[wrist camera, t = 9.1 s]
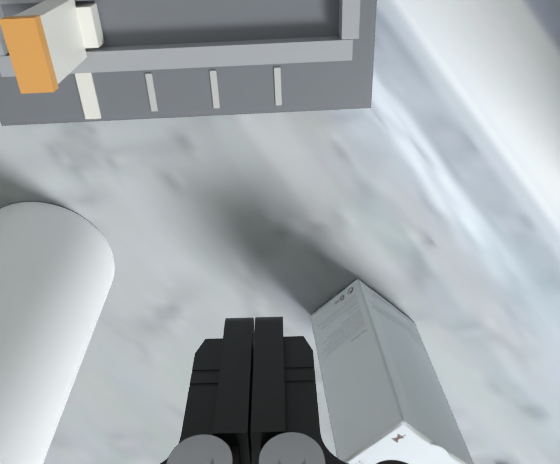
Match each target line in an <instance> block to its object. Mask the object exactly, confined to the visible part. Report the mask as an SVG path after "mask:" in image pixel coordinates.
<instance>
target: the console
mask: <svg viewBox="0 0 560 464" xmlns="http://www.w3.org/2000/svg"><path fill="white" fill-rule="evenodd" d="M43 1H45V0H0V19H1V18H3V17H6V16H15V15H17V14H19V13H21V12H23V11H25V10H27V9H29V8H31V7H33V6H35V5H37V4H39V3H41V2H43ZM74 1H75V4H86V3H96V4H97V9H98V13H99V18H100V23H101V28H102V33H103V38H104V43H103V44H102V45H101V46H100V47H99V48H85V50H86V55H87V58H86V59H85V60H83V61H82V62H81V63H80V64H79V65H78V66H77V67H76V68H75V69H74V70H73V71H72V72H71V73H70V74H68V75H67V76H66V77H65V78H64V79H63V80H62V81H61V82H60V83H59V84H58V87H59V88H58V89H57V90H56V91H55V92H47V93H26V94H21V92H20V89H19V85H18V82H17V79H16V75H15V72H14V69H13V65H12V62H11V59H10V55H9V52H8V49H7V45H6V42H5V39H4V35H3V32H2V29H1V25H0V122H1V125H2V126H6V125H27V124H48V123H68V122H89V121H110V120H130V119H151V118H172V117H193V116H213V115H234V114H255V113H275V112H296V111H317V110H338V109H358V108H371V98H372V80H373V61H374V42H375V23H376V5H377V0H74Z"/></svg>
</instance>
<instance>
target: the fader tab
mask: <svg viewBox="0 0 560 464" xmlns="http://www.w3.org/2000/svg"><path fill="white" fill-rule="evenodd" d="M0 25H1V29H2V32H3V35H4V39H5V42H6V45H7V49H8V52H9V55H10V59H11V62H12V65H13V69H14V72H15V75H16V79H17V82H18V85H19V89H20V92H21V94H26V93H47V92H55V91H56V90H57V89H58V88H59V87H58V84H59V83H60V82H61V81H62V80H63V79H64V78H65V77H66V76H67V75H68V74H70V73H71V72H72V71H73V70H74V69H75V68H76V67H77V66H78V65H79V64H80V63H81V62H82V61H83V60H85V59H86V58H87V55H86V50H85V48H99V47H100V46H101V45H102V44H103V43H104V38H103V33H102V28H101V23H100V18H99V13H98V9H97V4H96V3H86V4H75V1H74V0H45V1H43V2H41V3H39V4H37V5H35V6H33V7H31V8H29V9H27V10H25V11H23V12H21V13H19V14H17V15H15V16H6V17H3V18H1V19H0Z"/></svg>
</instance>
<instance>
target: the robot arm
mask: <svg viewBox="0 0 560 464" xmlns="http://www.w3.org/2000/svg"><path fill="white" fill-rule="evenodd" d="M161 464H349V463H346V462H344V461H342V460H340V459H338V458H337V457H335V456H334V455H333V454H332V453H330V452H329V450H328V449H327V448H326V447H325V445H324V443H323V441H322V438H321V434H320V425H319V414H318V403H317V392H316V383H315V370H314V359H313V350H312V349H311V347H310V346H309V344H308V342H307V341H306V339H305V338H304V336H294V337H283V317H256V318H255V330H254V319H253V318H226V320H225V326H224V335H223V339H205V341H204V342H203V343H202V345H201V346H200V348H199V349H198V350H197V352H196V353H195V357H194V363H193V369H192V375H191V381H190V387H189V392H188V398H187V404H186V410H185V416H184V421H183V427H182V433H181V438H180V441H179V444H178V445H177V446H176V447H175V448H174V449H173V450H172V452H171V454H170V455H169V457H168V458H167V459H166V460H165V461H163V462H162V463H161ZM376 464H408V463H405V462H402V461H398V460H385V461H381V462H378V463H376Z"/></svg>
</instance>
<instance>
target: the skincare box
mask: <svg viewBox="0 0 560 464" xmlns="http://www.w3.org/2000/svg"><path fill="white" fill-rule="evenodd" d="M311 322H312V328H313V333H314V338H315V343H316V349H317V354H318V360H319V365H320V370H321V376H322V381H323V386H324V391H325V397H326V402H327V407H328V413H329V418H330V423H331V428H332V433H333V439H334V444H335V449H336V455H337V458H338V459H340V460H342V461H344V462H346V463H349V464H376V463H378V462H381V461H385V460H398V461H402V462H405V463H408V464H474V463H473V461H472V458H471V456H470V454H469V451H468V449H467V446H466V444H465V441H464V439H463V437H462V434H461V432H460V430H459V427H458V425H457V423H456V420H455V418H454V415H453V413H452V411H451V408H450V406H449V404H448V401H447V399H446V396H445V394H444V392H443V389H442V387H441V385H440V382H439V380H438V377H437V375H436V373H435V370H434V368H433V365H432V363H431V361H430V358H429V356H428V353H427V351H426V349H425V346H424V344H423V342H422V339H421V337H420V334H419V332H418V329H417V327H416V324H415V323H414V322H413V321H411V320H410V319H409V318H408V317H406V316H405V315H404V314H403V313H401V312H400V311H399V310H398V309H396V308H395V307H394V306H393V305H391V304H390V303H389V302H387V301H386V300H385V299H384V298H382V297H381V296H380V295H379V294H377V293H376V292H374V291H373V290H372V289H370V288H369V287H367V286H366V285H365V284H364V283H363V282H362V281H360V280H359V279H357V280H355V281H354V282H353V283H351V284H350V285H349V286H348V287H347V288H345V289H344V290H343V291H342V292H340V293H339V294H338V295H336V296H335V297H334V298H333V299H331V300H330V301H328V302H327V303H326V304H324V305H323V306H322V307H321V308H319V309H318V310H317V311H316V312H314V313H313V314H312V317H311Z"/></svg>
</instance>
